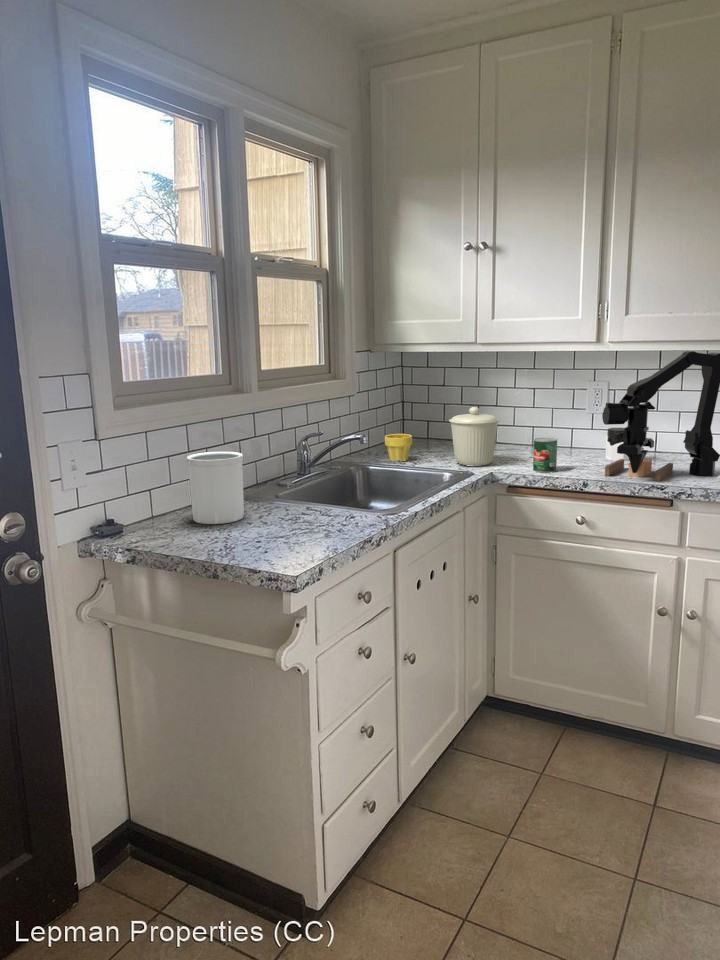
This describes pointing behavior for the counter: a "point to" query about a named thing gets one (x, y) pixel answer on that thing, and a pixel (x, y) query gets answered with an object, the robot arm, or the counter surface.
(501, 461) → the counter surface
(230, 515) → the utensil holder
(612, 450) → the jar
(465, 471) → the counter surface
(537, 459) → the canned tomato
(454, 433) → the canister
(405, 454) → the plant pot
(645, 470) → the peach rectangular block
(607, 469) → the brown wooden tray
